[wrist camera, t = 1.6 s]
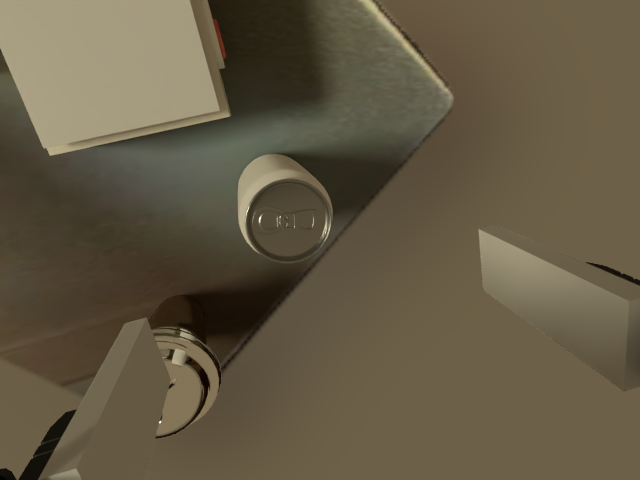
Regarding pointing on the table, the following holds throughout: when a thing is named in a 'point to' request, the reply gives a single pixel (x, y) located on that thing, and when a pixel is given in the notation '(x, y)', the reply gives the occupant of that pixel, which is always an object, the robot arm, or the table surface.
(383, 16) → the table surface
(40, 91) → the scale
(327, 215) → the can
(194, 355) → the cup with straw
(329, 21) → the table surface
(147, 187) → the table surface
